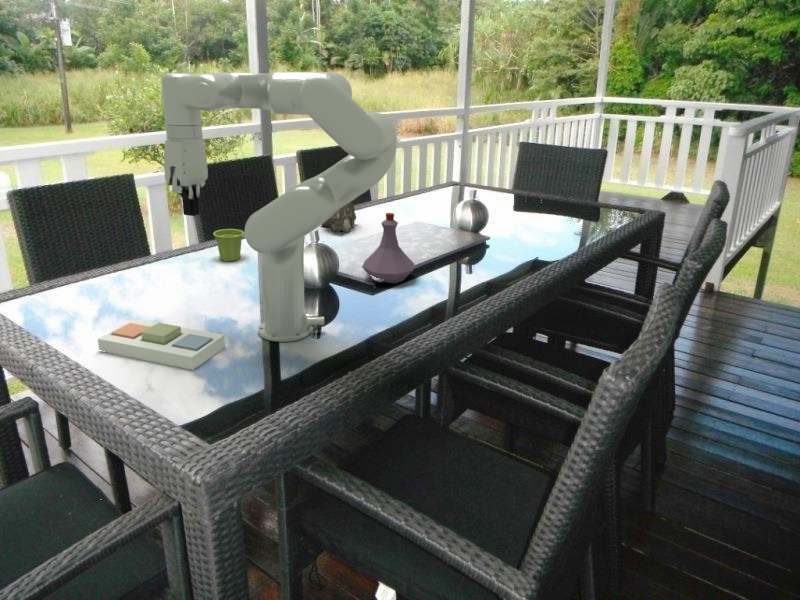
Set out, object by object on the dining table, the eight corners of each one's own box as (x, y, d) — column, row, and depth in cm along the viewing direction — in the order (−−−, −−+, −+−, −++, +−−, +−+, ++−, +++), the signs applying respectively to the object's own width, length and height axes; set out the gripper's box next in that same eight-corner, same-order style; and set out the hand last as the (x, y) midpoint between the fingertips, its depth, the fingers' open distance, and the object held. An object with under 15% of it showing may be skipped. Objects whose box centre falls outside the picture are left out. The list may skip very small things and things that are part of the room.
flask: (350, 281, 186) (350, 215, 179) (377, 267, 200) (379, 205, 193) (399, 292, 179) (402, 223, 172) (424, 276, 193) (427, 212, 186)
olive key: (181, 335, 141) (180, 326, 140) (164, 345, 136) (163, 336, 135) (159, 331, 142) (158, 322, 142) (142, 341, 137) (141, 332, 137)
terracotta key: (152, 335, 144) (151, 326, 143) (134, 345, 138) (133, 336, 138) (131, 331, 145) (129, 322, 144) (113, 341, 140) (111, 332, 139)
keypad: (225, 347, 142) (224, 334, 141) (193, 370, 131) (191, 357, 130) (136, 330, 149) (135, 318, 148) (99, 351, 138) (97, 338, 137)
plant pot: (249, 255, 207) (247, 229, 203) (239, 264, 198) (238, 237, 195) (221, 253, 207) (219, 228, 204) (210, 262, 199) (208, 235, 195)
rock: (356, 188, 230) (321, 177, 235) (338, 221, 226) (303, 209, 231) (367, 213, 247) (334, 202, 252) (351, 244, 243) (318, 232, 248)
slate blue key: (212, 346, 139) (211, 337, 138) (197, 357, 134) (196, 348, 133) (190, 342, 141) (189, 333, 140) (173, 353, 136) (173, 344, 135)
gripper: (190, 128, 146) (197, 206, 152) (147, 135, 132) (156, 220, 139) (218, 130, 143) (224, 209, 150) (177, 137, 130) (185, 223, 137)
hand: (191, 214), depth 144 cm, fingers closed
